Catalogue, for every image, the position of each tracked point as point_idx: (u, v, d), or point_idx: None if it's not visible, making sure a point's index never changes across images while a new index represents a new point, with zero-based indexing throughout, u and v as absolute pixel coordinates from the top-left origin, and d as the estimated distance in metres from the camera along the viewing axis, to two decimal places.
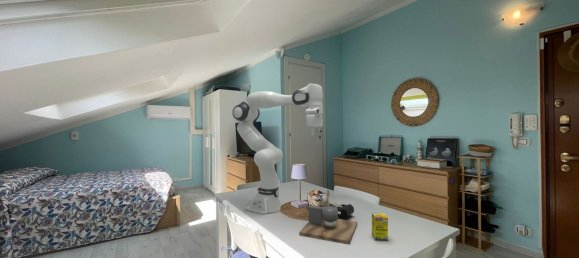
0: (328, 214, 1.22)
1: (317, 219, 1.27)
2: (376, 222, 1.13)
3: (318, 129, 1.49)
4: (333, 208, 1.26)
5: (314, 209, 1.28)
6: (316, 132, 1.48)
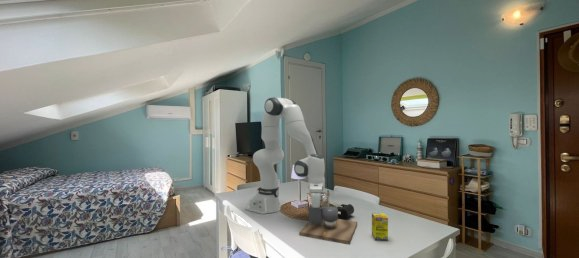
0: (329, 214, 1.22)
1: (317, 219, 1.27)
2: (376, 222, 1.13)
3: None
4: (333, 208, 1.26)
5: (314, 209, 1.28)
6: None
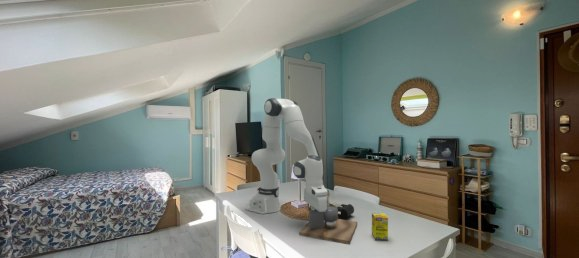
0: (334, 214, 1.22)
1: (320, 222, 1.23)
2: (376, 222, 1.13)
3: (313, 208, 1.27)
4: (331, 207, 1.27)
5: (316, 213, 1.22)
6: None
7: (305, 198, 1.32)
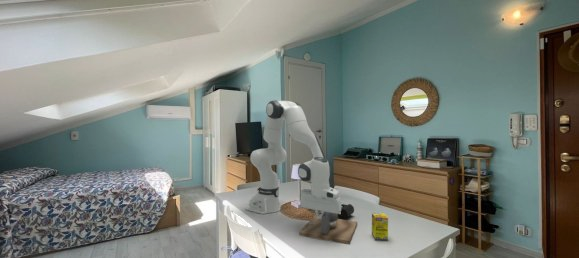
0: None
1: (329, 224, 1.20)
2: (376, 222, 1.13)
3: (318, 212, 1.21)
4: None
5: (328, 216, 1.18)
6: None
7: (305, 204, 1.22)
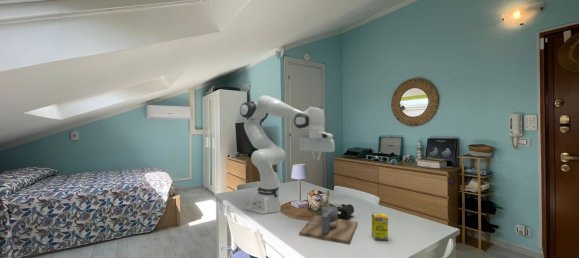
0: (337, 212, 1.25)
1: (329, 224, 1.20)
2: (376, 222, 1.13)
3: (314, 153, 1.39)
4: (329, 207, 1.27)
5: (328, 216, 1.18)
6: None
7: (303, 147, 1.40)
